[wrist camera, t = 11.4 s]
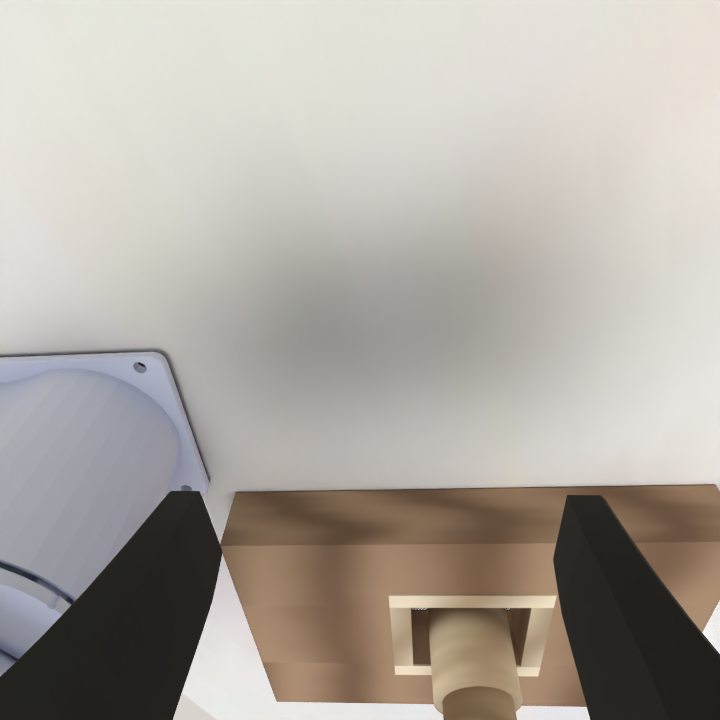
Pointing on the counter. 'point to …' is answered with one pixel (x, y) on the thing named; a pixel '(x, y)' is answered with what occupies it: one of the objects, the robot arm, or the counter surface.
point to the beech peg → (473, 664)
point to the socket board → (437, 579)
